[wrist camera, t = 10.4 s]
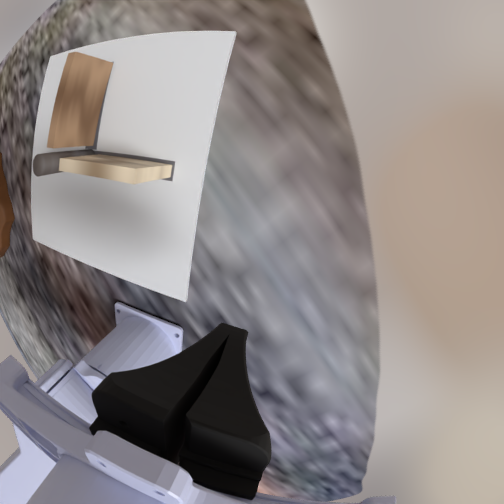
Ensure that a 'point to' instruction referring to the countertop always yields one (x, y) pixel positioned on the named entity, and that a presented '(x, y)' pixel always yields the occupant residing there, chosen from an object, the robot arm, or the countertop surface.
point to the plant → (4, 213)
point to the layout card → (137, 147)
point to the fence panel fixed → (100, 166)
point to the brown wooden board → (78, 101)
